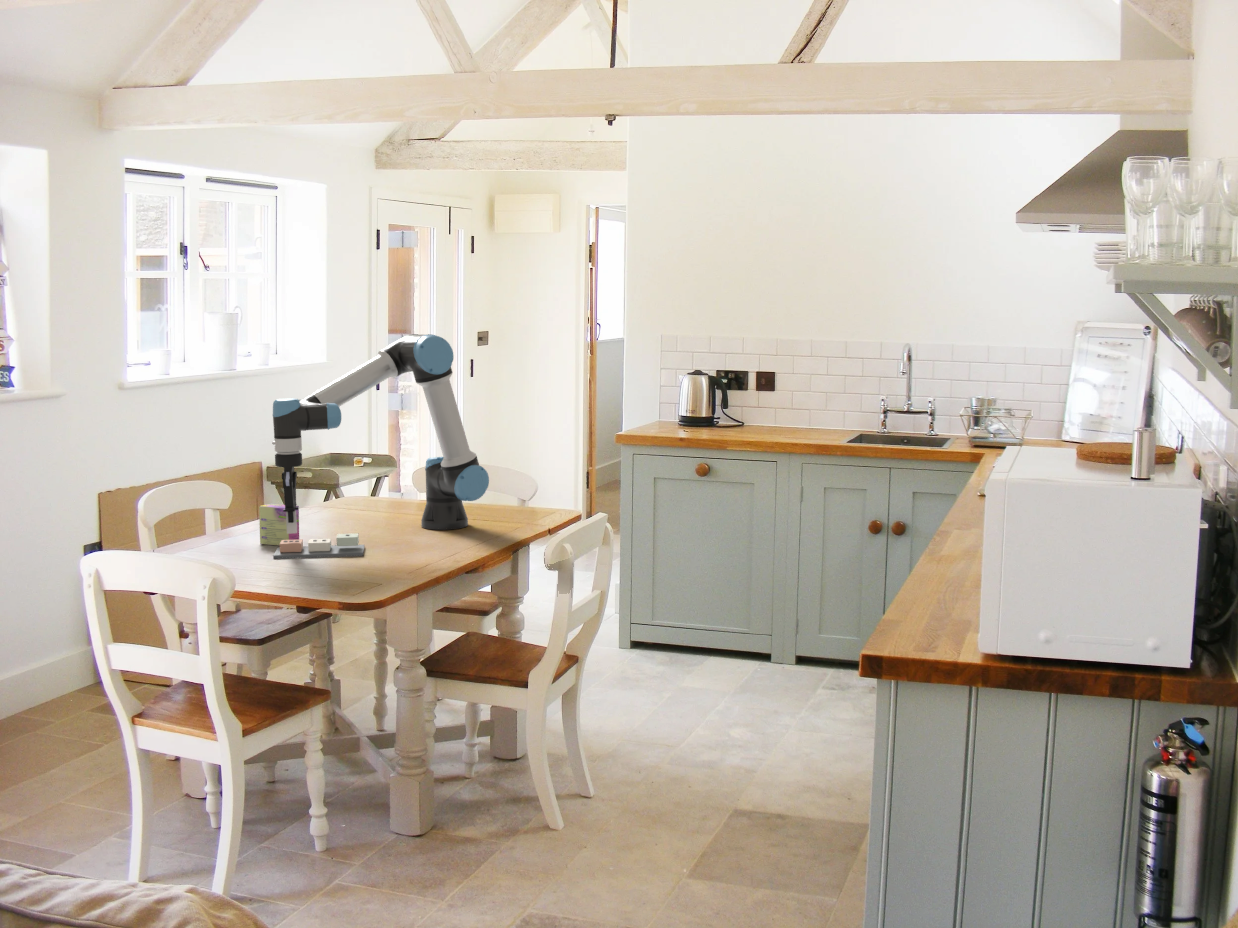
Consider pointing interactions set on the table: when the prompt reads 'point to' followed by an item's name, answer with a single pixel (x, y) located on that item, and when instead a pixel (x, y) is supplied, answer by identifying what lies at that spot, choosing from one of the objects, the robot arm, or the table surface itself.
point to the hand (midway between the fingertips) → (291, 532)
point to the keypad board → (322, 552)
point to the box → (275, 524)
